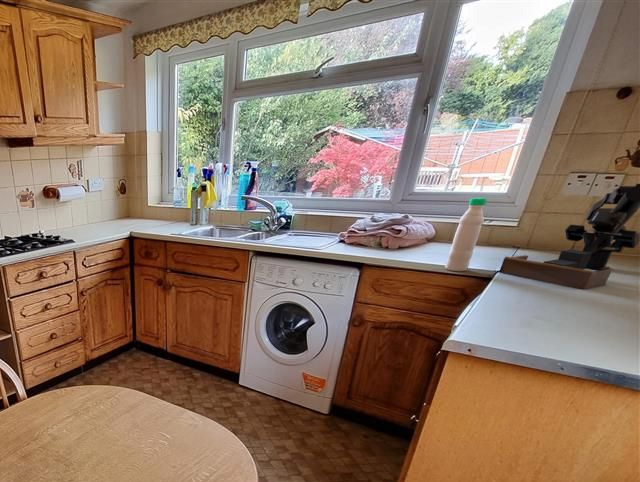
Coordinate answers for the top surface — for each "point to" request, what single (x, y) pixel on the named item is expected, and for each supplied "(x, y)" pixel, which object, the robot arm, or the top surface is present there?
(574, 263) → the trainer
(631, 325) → the top surface
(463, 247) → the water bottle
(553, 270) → the brown shallow tray
